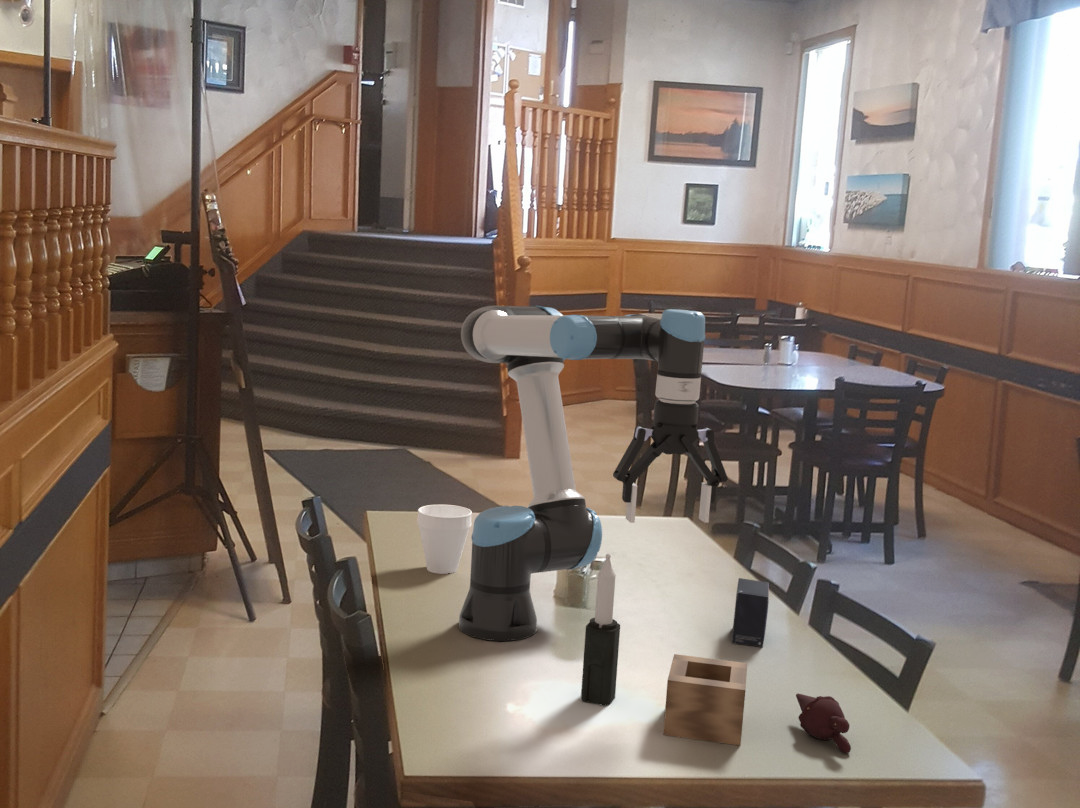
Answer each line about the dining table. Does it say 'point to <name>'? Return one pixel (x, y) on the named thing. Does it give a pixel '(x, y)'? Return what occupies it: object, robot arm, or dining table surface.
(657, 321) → the robot arm
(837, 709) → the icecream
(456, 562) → the cup
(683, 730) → the well block
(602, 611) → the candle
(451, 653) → the dining table surface
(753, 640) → the small box
